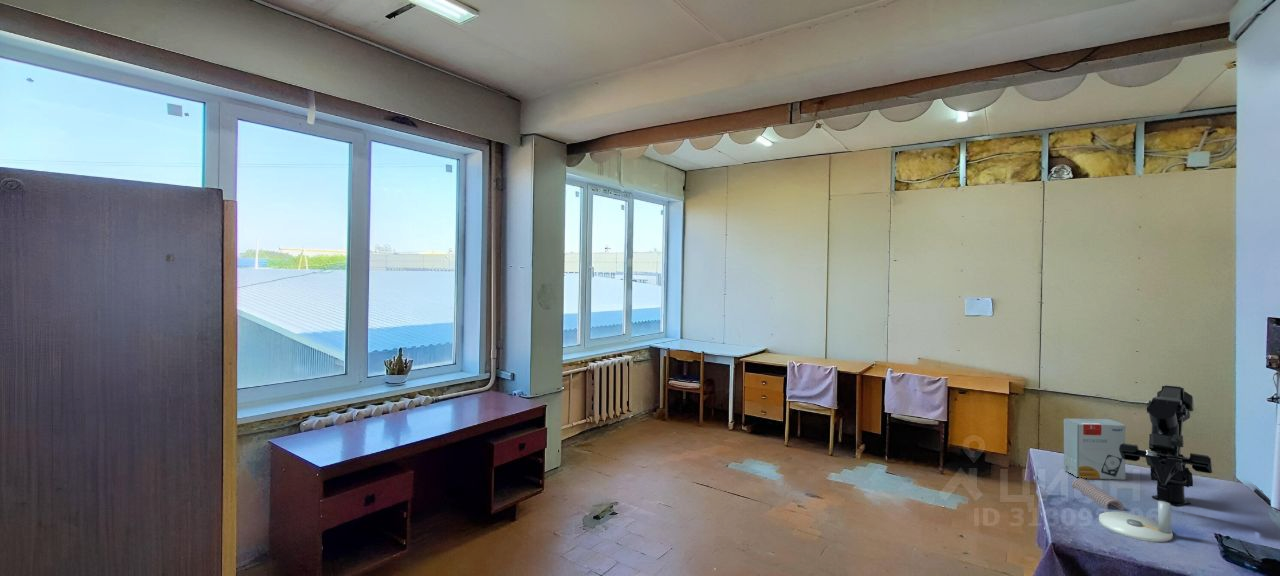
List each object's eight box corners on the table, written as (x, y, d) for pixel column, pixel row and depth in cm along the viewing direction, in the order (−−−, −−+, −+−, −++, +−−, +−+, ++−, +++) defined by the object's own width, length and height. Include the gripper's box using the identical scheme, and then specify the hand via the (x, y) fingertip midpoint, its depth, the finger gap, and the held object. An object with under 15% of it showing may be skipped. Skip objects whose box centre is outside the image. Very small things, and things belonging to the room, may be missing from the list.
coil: (1070, 477, 172) (1106, 500, 155) (1086, 476, 171) (1124, 500, 154) (1072, 491, 172) (1108, 515, 155) (1088, 490, 171) (1126, 515, 154)
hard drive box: (1077, 479, 180) (1076, 424, 180) (1063, 470, 188) (1061, 417, 188) (1127, 480, 178) (1125, 424, 177) (1110, 471, 185) (1109, 418, 185)
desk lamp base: (1102, 510, 155) (1102, 481, 154) (1173, 527, 143) (1173, 495, 143) (1095, 528, 145) (1094, 496, 144) (1171, 548, 133) (1170, 513, 133)
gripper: (1118, 417, 156) (1114, 463, 149) (1208, 428, 142) (1209, 479, 135) (1124, 435, 161) (1120, 481, 154) (1212, 447, 147) (1212, 498, 140)
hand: (1163, 484), depth 146 cm, fingers closed
